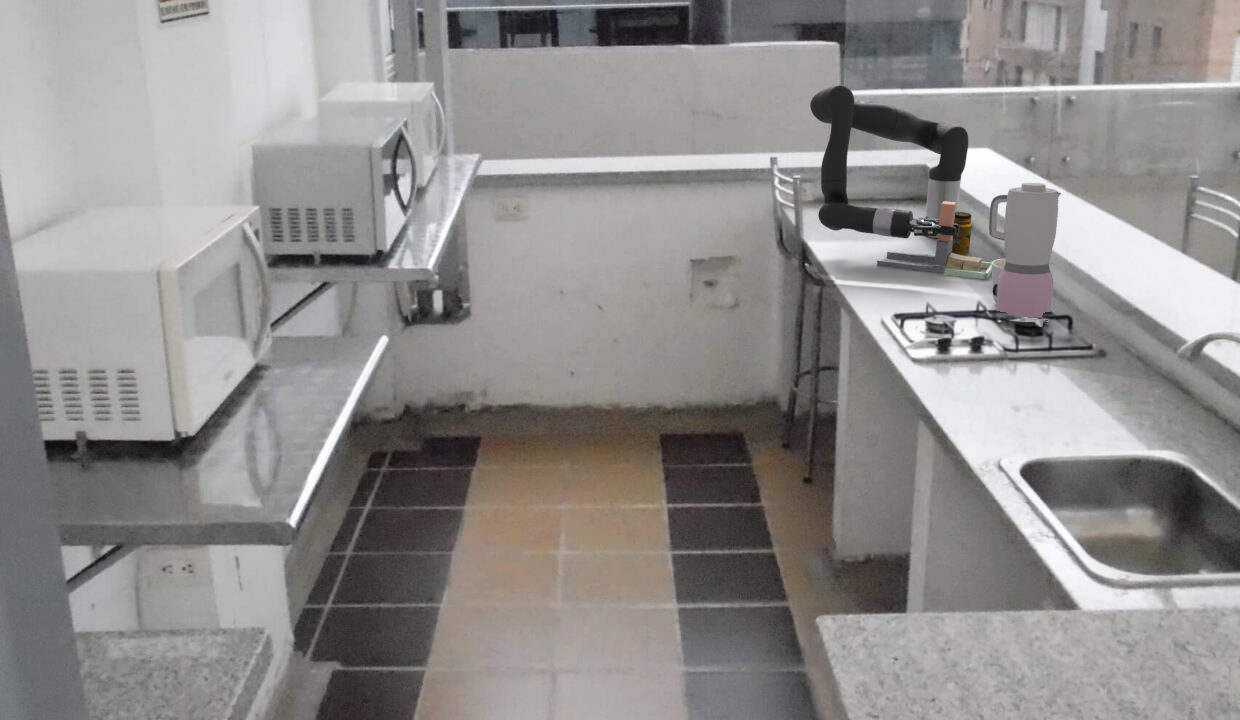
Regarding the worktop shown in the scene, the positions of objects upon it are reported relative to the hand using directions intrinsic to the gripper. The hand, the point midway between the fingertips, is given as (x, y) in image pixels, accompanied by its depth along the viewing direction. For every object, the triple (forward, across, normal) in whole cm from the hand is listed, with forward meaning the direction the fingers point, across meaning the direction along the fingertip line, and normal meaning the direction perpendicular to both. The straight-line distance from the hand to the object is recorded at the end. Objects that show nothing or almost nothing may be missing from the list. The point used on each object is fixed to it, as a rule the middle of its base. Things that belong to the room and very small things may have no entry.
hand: (957, 230), depth 314 cm
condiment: (-3, +19, +12) cm, 23 cm away
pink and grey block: (-3, 0, +9) cm, 9 cm away
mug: (+20, -23, +12) cm, 33 cm away
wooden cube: (0, 0, +11) cm, 11 cm away
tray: (+4, 0, +12) cm, 13 cm away
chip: (+5, 0, +11) cm, 12 cm away
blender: (+22, -37, +12) cm, 44 cm away
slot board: (-10, 0, +12) cm, 16 cm away
